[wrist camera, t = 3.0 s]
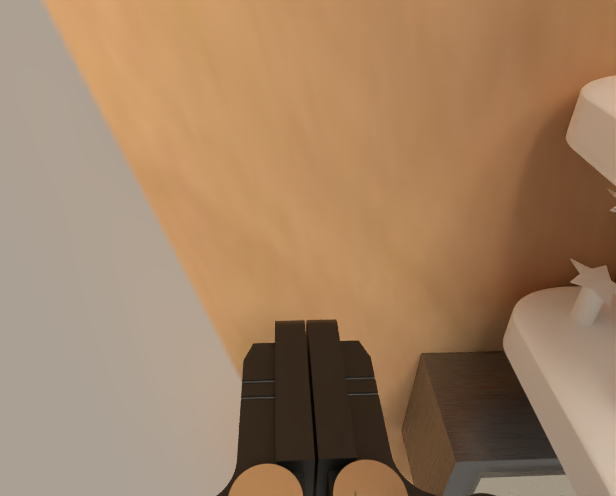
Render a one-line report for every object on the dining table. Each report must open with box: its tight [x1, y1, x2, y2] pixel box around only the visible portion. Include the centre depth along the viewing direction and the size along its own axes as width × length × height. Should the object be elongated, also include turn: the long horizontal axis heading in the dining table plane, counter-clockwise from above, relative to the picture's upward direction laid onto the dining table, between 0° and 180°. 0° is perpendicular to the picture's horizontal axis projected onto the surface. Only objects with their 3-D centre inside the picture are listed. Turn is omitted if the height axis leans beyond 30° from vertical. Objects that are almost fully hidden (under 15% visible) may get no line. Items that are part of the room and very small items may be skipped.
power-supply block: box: [402, 352, 577, 496], centre depth 21 cm, size 6×17×5 cm, turn 88°
